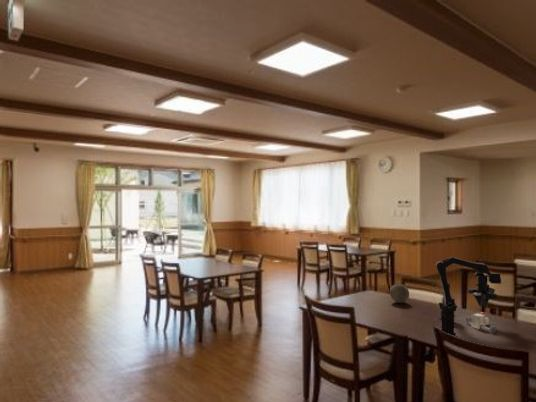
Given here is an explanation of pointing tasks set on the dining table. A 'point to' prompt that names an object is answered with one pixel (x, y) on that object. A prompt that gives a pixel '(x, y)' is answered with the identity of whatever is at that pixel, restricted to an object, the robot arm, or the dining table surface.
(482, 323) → the carriage
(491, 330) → the rail
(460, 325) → the dining table surface
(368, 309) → the dining table surface
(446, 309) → the black fluted column
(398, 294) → the cantaloupe
